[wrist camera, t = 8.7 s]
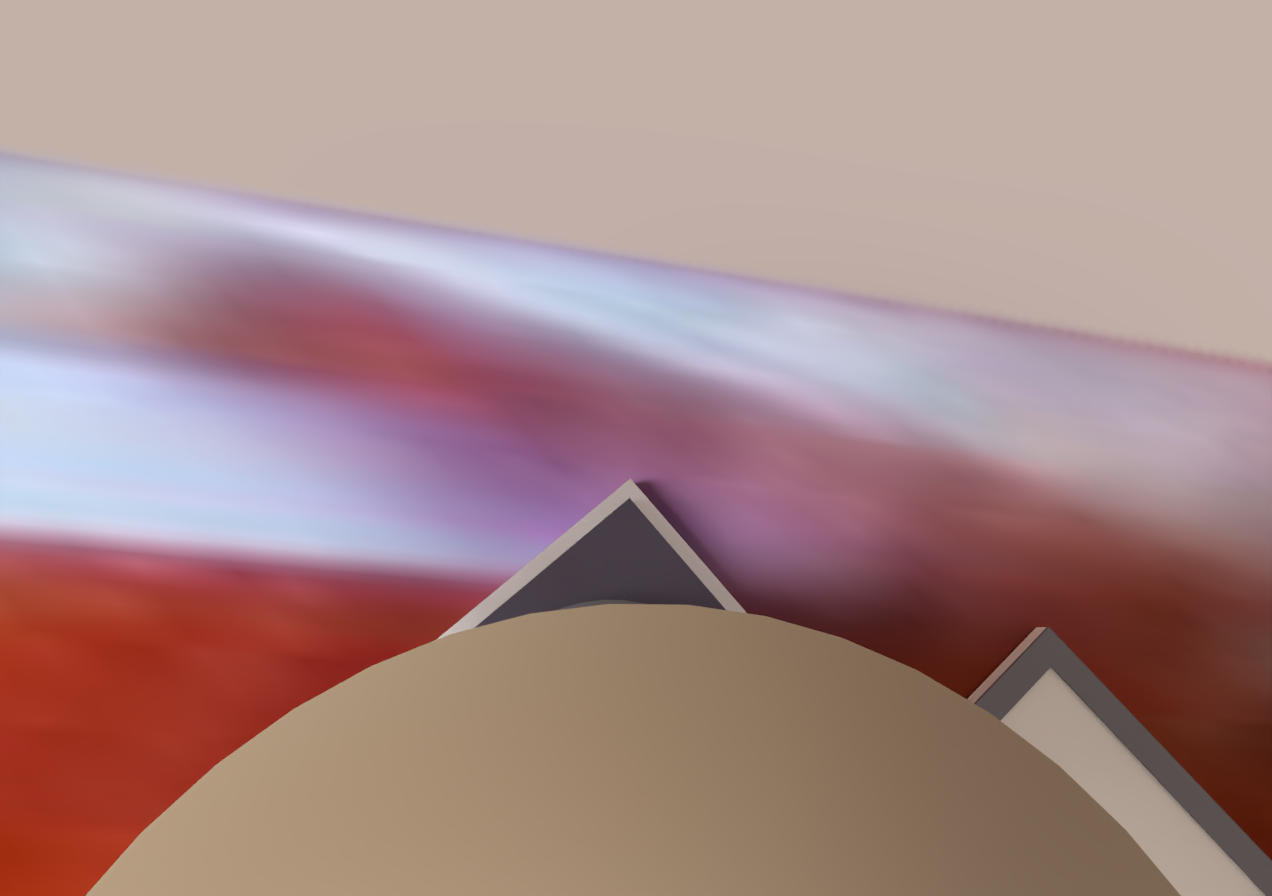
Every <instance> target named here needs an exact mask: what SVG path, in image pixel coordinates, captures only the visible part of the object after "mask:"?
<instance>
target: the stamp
mask: <svg viewBox="0 0 1272 896" xmlns="http://www.w3.org/2000/svg"><path fill="white" fill-rule="evenodd" d="M86 896H1181V895H1180V894H1179V893H1178V892H1177V890H1176V889H1175V888H1174V887H1173V886H1172V884H1171V883H1170V882H1169V881H1168V880H1167V879H1166V877H1165V876H1164V875H1163V874H1162V873H1161V871H1160V870H1159V869H1158V868H1157V867H1156V865H1155V864H1154V863H1153V862H1152V861H1151V859H1150V858H1149V857H1148V856H1147V855H1146V853H1145V852H1144V851H1143V850H1142V849H1141V847H1140V846H1139V845H1138V844H1137V843H1136V841H1135V840H1134V839H1133V838H1132V837H1131V835H1130V834H1129V833H1128V832H1127V831H1126V830H1125V829H1124V828H1123V827H1122V826H1121V825H1120V824H1119V823H1118V822H1117V821H1116V820H1115V819H1114V818H1113V817H1112V816H1111V815H1110V814H1109V813H1108V812H1107V811H1106V810H1105V809H1104V808H1103V807H1102V806H1100V805H1099V804H1098V803H1097V802H1096V801H1095V800H1094V799H1093V798H1092V797H1091V796H1090V795H1089V794H1088V793H1087V792H1086V791H1085V790H1084V789H1083V788H1082V787H1081V786H1080V785H1079V784H1078V783H1077V782H1076V781H1075V780H1073V779H1072V778H1071V777H1070V776H1069V775H1068V774H1067V773H1066V772H1065V771H1064V770H1063V769H1062V768H1061V767H1060V766H1059V765H1057V764H1056V763H1055V762H1054V761H1052V760H1051V759H1050V758H1048V757H1047V756H1046V755H1044V754H1043V753H1042V752H1040V751H1039V750H1038V749H1036V748H1035V747H1034V746H1033V745H1031V744H1030V743H1029V742H1027V741H1026V740H1025V739H1023V738H1022V737H1021V736H1019V735H1018V734H1017V733H1016V732H1014V731H1013V730H1012V729H1010V728H1009V727H1008V726H1006V725H1005V724H1004V723H1002V722H1001V721H1000V720H998V719H997V718H996V717H995V716H993V715H992V714H991V713H989V712H988V711H986V710H984V709H982V708H981V707H979V706H977V705H976V704H974V703H972V702H971V701H969V700H967V699H965V698H964V697H962V696H960V695H959V694H957V693H955V692H954V691H952V690H950V689H948V688H947V687H945V686H943V685H942V684H940V683H938V682H937V681H935V680H933V679H931V678H930V677H928V676H926V675H925V674H923V673H921V672H920V671H918V670H916V669H913V668H911V667H909V666H907V665H904V664H902V663H900V662H897V661H895V660H893V659H890V658H888V657H886V656H883V655H881V654H879V653H876V652H874V651H872V650H869V649H867V648H865V647H862V646H860V645H858V644H855V643H853V642H851V641H848V640H846V639H844V638H841V637H838V636H834V635H831V634H827V633H824V632H820V631H817V630H813V629H809V628H806V627H802V626H799V625H795V624H792V623H788V622H785V621H781V620H778V619H774V618H771V617H767V616H762V615H755V614H748V613H741V612H735V611H728V610H721V609H714V608H707V607H700V606H693V605H669V604H645V603H640V602H633V601H626V600H597V601H589V602H582V603H578V604H574V605H571V606H567V607H563V608H561V609H558V610H555V611H547V612H539V613H531V614H527V615H523V616H519V617H515V618H511V619H507V620H503V621H500V622H496V623H492V624H488V625H484V626H480V627H477V628H473V629H469V630H465V631H461V632H457V633H454V634H450V635H447V636H445V637H442V638H440V639H437V640H435V641H432V642H430V643H427V644H425V645H423V646H420V647H418V648H415V649H413V650H410V651H408V652H405V653H403V654H400V655H398V656H395V657H393V658H390V659H388V660H385V661H383V662H380V663H378V664H375V665H373V666H371V667H369V668H367V669H365V670H363V671H362V672H360V673H358V674H356V675H354V676H352V677H351V678H349V679H347V680H345V681H343V682H342V683H340V684H338V685H336V686H334V687H333V688H331V689H329V690H327V691H325V692H324V693H322V694H320V695H318V696H316V697H315V698H313V699H311V700H309V701H307V702H306V703H304V704H302V705H300V706H298V707H297V708H295V709H293V710H291V711H290V712H289V713H287V714H286V715H285V716H283V717H282V718H280V719H279V720H278V721H276V722H275V723H273V724H272V725H271V726H269V727H268V728H267V729H265V730H264V731H262V732H261V733H260V734H258V735H257V736H255V737H254V738H253V739H251V740H250V741H248V742H247V743H246V744H244V745H243V746H242V747H240V748H239V749H237V750H236V751H235V752H233V753H232V754H230V755H229V756H228V757H226V758H225V759H223V760H222V761H221V762H219V763H218V764H217V765H215V766H214V767H213V768H212V769H211V770H210V771H209V772H208V773H207V774H205V775H204V776H203V777H202V778H201V779H200V780H199V781H198V782H197V783H195V784H194V785H193V786H192V787H191V788H190V789H189V790H188V791H187V792H186V793H184V794H183V795H182V796H181V797H180V798H179V799H178V800H177V801H176V802H175V803H173V804H172V805H171V806H170V807H169V808H168V809H167V810H166V811H165V812H164V813H162V814H161V815H160V816H159V817H158V818H157V819H156V820H155V821H154V822H153V823H151V824H150V825H149V826H148V827H147V828H146V829H145V830H144V831H143V832H142V833H141V834H140V835H139V836H138V837H137V838H136V839H135V840H134V842H133V843H132V844H131V845H130V846H129V847H128V848H127V849H126V851H125V852H124V853H123V854H122V855H121V856H120V857H119V858H118V860H117V861H116V862H115V863H114V864H113V865H112V866H111V867H110V869H109V870H108V871H107V872H106V873H105V874H104V875H103V876H102V878H101V879H100V880H99V881H98V882H97V883H96V884H95V885H94V887H93V888H92V889H91V890H90V891H89V892H88V893H87V895H86Z"/></svg>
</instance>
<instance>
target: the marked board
mask: <svg viewBox="0 0 1272 896" xmlns="http://www.w3.org/2000/svg"><path fill="white" fill-rule="evenodd" d="M967 700H969V701H971V702H972V703H974V704H976V705H977V706H979V707H981V708H982V709H984V710H986V711H988V712H989V713H991V714H992V715H993V716H995V717H996V718H997V719H998V720H1000V721H1001V722H1002V723H1004V724H1005V725H1006V726H1008V727H1009V728H1010V729H1012V730H1013V731H1014V732H1016V733H1017V734H1018V735H1019V736H1021V737H1022V738H1023V739H1025V740H1026V741H1027V742H1029V743H1030V744H1031V745H1033V746H1034V747H1035V748H1036V749H1038V750H1039V751H1040V752H1042V753H1043V754H1044V755H1046V756H1047V757H1048V758H1050V759H1051V760H1052V761H1054V762H1055V763H1056V764H1057V765H1059V766H1060V767H1061V768H1062V769H1063V770H1064V771H1065V772H1066V773H1067V774H1068V775H1069V776H1070V777H1071V778H1072V779H1073V780H1075V781H1076V782H1077V783H1078V784H1079V785H1080V786H1081V787H1082V788H1083V789H1084V790H1085V791H1086V792H1087V793H1088V794H1089V795H1090V796H1091V797H1092V798H1093V799H1094V800H1095V801H1096V802H1097V803H1098V804H1099V805H1100V806H1102V807H1103V808H1104V809H1105V810H1106V811H1107V812H1108V813H1109V814H1110V815H1111V816H1112V817H1113V818H1114V819H1115V820H1116V821H1117V822H1118V823H1119V824H1120V825H1121V826H1122V827H1123V828H1124V829H1125V830H1126V831H1127V832H1128V833H1129V834H1130V835H1131V837H1132V838H1133V839H1134V840H1135V841H1136V843H1137V844H1138V845H1139V846H1140V847H1141V849H1142V850H1143V851H1144V852H1145V853H1146V855H1147V856H1148V857H1149V858H1150V859H1151V861H1152V862H1153V863H1154V864H1155V865H1156V867H1157V868H1158V869H1159V870H1160V871H1161V873H1162V874H1163V875H1164V876H1165V877H1166V879H1167V880H1168V881H1169V882H1170V883H1171V884H1172V886H1173V887H1174V888H1175V889H1176V890H1177V892H1178V893H1179V894H1180V895H1181V896H1272V861H1271V860H1270V858H1269V857H1268V856H1267V855H1266V854H1265V853H1264V852H1263V851H1262V850H1261V849H1260V848H1259V847H1258V846H1257V845H1256V844H1255V843H1254V842H1253V841H1252V840H1251V839H1250V837H1249V836H1248V835H1247V834H1246V833H1245V832H1244V831H1243V830H1242V829H1241V828H1240V827H1239V826H1238V825H1237V824H1236V823H1235V822H1234V821H1233V820H1232V819H1231V818H1230V816H1229V815H1228V814H1227V813H1226V812H1225V811H1224V810H1223V809H1222V808H1221V807H1220V806H1219V805H1218V804H1217V803H1216V802H1215V801H1214V800H1213V799H1212V798H1211V796H1210V795H1209V794H1208V793H1207V792H1206V791H1205V790H1204V789H1203V788H1202V787H1201V786H1200V785H1199V784H1198V783H1197V782H1196V781H1195V780H1194V779H1193V778H1192V777H1191V775H1190V774H1189V773H1188V772H1187V771H1186V770H1185V769H1184V768H1183V767H1182V766H1181V765H1180V764H1179V763H1178V762H1177V761H1176V760H1175V759H1174V758H1173V757H1172V755H1171V754H1170V753H1169V752H1168V751H1167V750H1166V749H1165V748H1164V747H1163V746H1162V745H1161V744H1160V743H1159V742H1158V741H1157V740H1156V739H1155V738H1154V737H1153V736H1152V734H1151V733H1150V732H1149V731H1148V730H1147V729H1146V728H1145V727H1144V726H1143V725H1142V724H1141V723H1140V722H1139V721H1138V720H1137V719H1136V718H1135V717H1134V716H1133V715H1132V713H1131V712H1130V711H1129V710H1128V709H1127V708H1126V707H1125V706H1124V705H1123V704H1122V703H1121V702H1120V701H1119V700H1118V699H1117V698H1116V697H1115V696H1114V695H1113V693H1112V692H1111V691H1110V690H1109V689H1108V688H1107V687H1106V686H1105V685H1104V684H1103V683H1102V682H1101V681H1100V680H1099V679H1098V678H1097V677H1096V676H1095V675H1094V674H1093V672H1092V671H1091V670H1090V669H1089V668H1088V667H1087V666H1086V665H1085V664H1084V663H1083V662H1082V661H1081V660H1080V659H1079V658H1078V657H1077V656H1076V655H1075V654H1074V652H1073V651H1072V650H1071V649H1070V648H1069V647H1068V646H1067V645H1066V644H1065V643H1064V642H1063V641H1062V640H1061V639H1060V638H1059V637H1058V636H1057V635H1056V634H1055V633H1054V631H1053V630H1052V629H1051V628H1050V627H1036V628H1035V629H1034V630H1033V631H1032V632H1031V633H1030V634H1029V635H1028V636H1027V637H1026V638H1025V639H1024V640H1023V641H1022V643H1021V644H1020V645H1019V646H1018V647H1017V648H1016V649H1015V650H1014V651H1013V652H1012V653H1011V654H1010V655H1009V656H1008V657H1007V658H1006V659H1005V660H1004V661H1003V662H1002V663H1001V664H1000V665H999V666H998V667H997V669H996V670H995V671H994V672H993V673H992V674H991V675H990V676H989V677H988V678H987V679H986V680H985V681H984V682H983V683H982V684H981V685H980V686H979V687H978V688H977V689H976V690H975V691H974V692H973V694H972V695H971V696H970V697H969V698H968V699H967Z"/></svg>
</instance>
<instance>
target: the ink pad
mask: <svg viewBox="0 0 1272 896" xmlns="http://www.w3.org/2000/svg"><path fill="white" fill-rule="evenodd" d="M597 600H626V601H633V602H640V603H645V604H669V605H693V606H700V607H707V608H714V609H721V610H728V611H735V612H741V613H747V612H746V611H745V610H744V609H743V608H742V607H741V606H740V604H739V603H738V602H737V601H736V600H735V599H734V597H733V596H732V595H731V594H730V593H729V592H728V591H727V589H726V588H725V587H724V586H723V585H722V584H721V582H720V581H719V580H718V579H717V578H716V577H715V576H714V574H713V573H712V572H711V571H710V570H709V569H708V567H707V566H706V565H705V564H704V563H703V562H702V561H701V559H700V558H699V557H698V556H697V555H696V554H695V552H694V551H693V550H692V549H691V548H690V547H689V546H688V544H687V543H686V542H685V541H684V540H683V539H682V537H681V536H680V535H679V534H678V533H677V532H676V531H675V529H674V528H673V527H672V526H671V525H670V524H669V522H668V521H667V520H666V519H665V518H664V517H663V516H662V514H661V513H660V512H659V511H658V510H657V509H656V507H655V506H654V505H653V504H652V503H651V502H650V501H649V499H648V498H647V497H646V496H645V495H644V494H643V492H642V491H641V490H640V489H639V488H638V487H637V486H636V484H635V483H634V482H633V481H632V480H631V479H629V480H628V481H627V482H626V483H625V484H623V485H622V486H621V487H620V488H619V489H617V490H616V491H615V492H614V493H613V494H611V495H610V496H609V497H608V498H606V499H605V500H604V501H603V502H602V503H600V504H599V505H598V506H597V507H596V508H594V509H593V510H592V511H591V512H590V513H588V514H587V515H586V516H585V517H584V518H582V519H581V520H580V521H579V522H578V523H576V524H575V525H574V526H573V527H572V528H570V529H569V530H568V531H567V532H566V533H564V534H563V535H562V536H561V537H560V538H558V539H557V540H556V541H555V542H554V543H552V544H551V545H550V546H549V547H547V548H546V549H545V550H544V551H543V552H541V553H540V554H539V555H538V556H537V557H535V558H534V559H533V560H532V561H531V562H529V563H528V564H527V565H526V566H525V567H523V568H522V569H521V570H520V571H519V572H517V573H516V574H515V575H514V576H513V577H511V578H510V579H509V580H508V581H507V582H505V583H504V584H503V585H502V586H501V587H499V588H498V589H497V590H496V591H494V592H493V593H492V594H491V595H490V596H488V597H487V598H486V599H485V600H484V601H482V602H481V603H480V604H479V605H478V606H476V607H475V608H474V609H473V610H472V611H470V612H469V613H468V614H467V615H466V616H464V617H463V618H462V619H461V620H460V621H458V622H457V623H456V624H455V625H454V626H452V627H451V628H450V629H449V630H448V631H446V632H445V633H444V634H443V635H441V636H440V637H439V638H438V639H440V638H442V637H445V636H447V635H450V634H454V633H457V632H461V631H465V630H469V629H473V628H477V627H480V626H484V625H488V624H492V623H496V622H500V621H503V620H507V619H511V618H515V617H519V616H523V615H527V614H531V613H539V612H547V611H555V610H558V609H561V608H563V607H567V606H571V605H574V604H578V603H582V602H589V601H597Z"/></svg>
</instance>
